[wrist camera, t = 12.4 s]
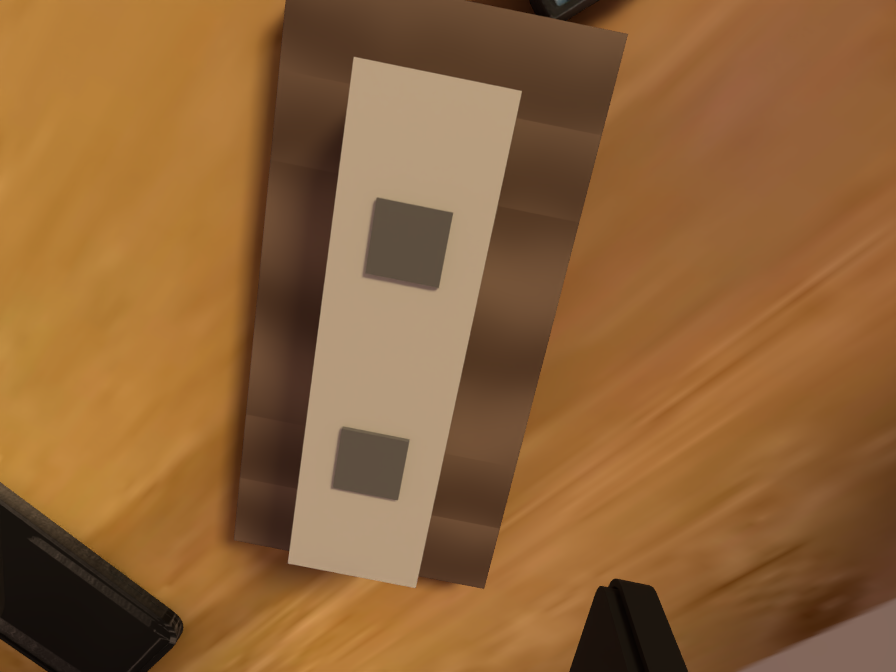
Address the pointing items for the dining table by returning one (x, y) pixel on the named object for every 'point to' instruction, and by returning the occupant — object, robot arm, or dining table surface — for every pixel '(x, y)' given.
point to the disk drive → (560, 8)
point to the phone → (74, 601)
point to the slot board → (507, 263)
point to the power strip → (396, 313)
